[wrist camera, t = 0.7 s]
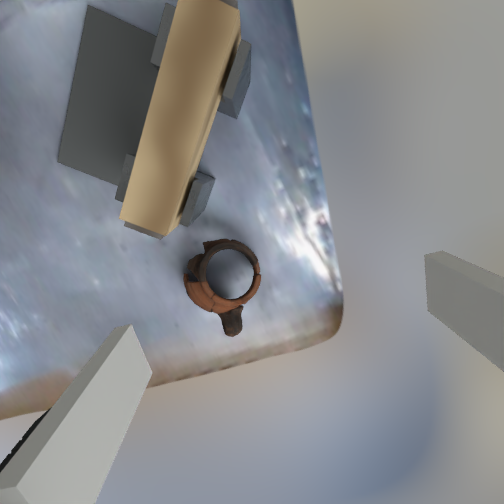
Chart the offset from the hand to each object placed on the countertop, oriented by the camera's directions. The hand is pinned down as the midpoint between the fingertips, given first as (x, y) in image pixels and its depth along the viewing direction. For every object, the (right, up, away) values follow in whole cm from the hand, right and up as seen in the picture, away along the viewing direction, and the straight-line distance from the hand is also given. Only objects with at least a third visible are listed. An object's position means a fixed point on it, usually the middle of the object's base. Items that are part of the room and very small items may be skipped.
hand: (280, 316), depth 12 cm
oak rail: (-7, +14, +13) cm, 20 cm away
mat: (-16, +19, +19) cm, 31 cm away
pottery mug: (-5, 0, +25) cm, 26 cm away
